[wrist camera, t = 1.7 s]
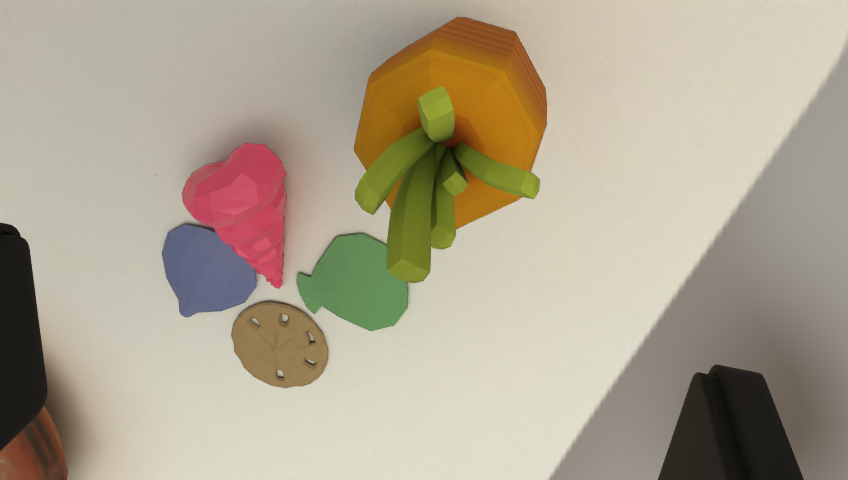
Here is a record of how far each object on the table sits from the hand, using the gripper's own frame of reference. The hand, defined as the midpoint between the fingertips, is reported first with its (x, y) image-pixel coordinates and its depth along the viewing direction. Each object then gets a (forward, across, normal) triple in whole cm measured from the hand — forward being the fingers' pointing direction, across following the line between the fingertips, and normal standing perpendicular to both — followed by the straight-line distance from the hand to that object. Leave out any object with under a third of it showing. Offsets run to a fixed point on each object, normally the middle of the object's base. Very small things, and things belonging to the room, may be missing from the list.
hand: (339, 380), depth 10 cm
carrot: (+20, 0, -1) cm, 20 cm away
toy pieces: (+20, +8, +10) cm, 24 cm away
